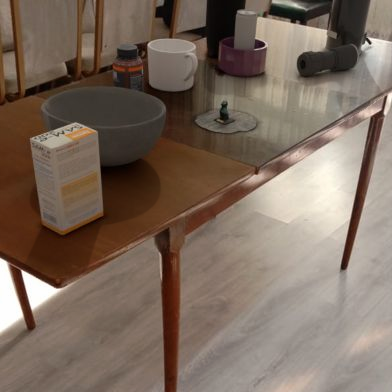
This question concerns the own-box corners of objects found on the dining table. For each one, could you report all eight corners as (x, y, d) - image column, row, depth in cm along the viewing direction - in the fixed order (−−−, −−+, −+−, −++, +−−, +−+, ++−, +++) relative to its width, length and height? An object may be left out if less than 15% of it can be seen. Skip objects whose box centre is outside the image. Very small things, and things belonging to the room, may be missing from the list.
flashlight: (307, 79, 146) (310, 55, 143) (293, 73, 150) (296, 48, 146) (356, 71, 153) (361, 47, 149) (341, 64, 156) (345, 41, 153)
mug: (138, 81, 140) (137, 43, 135) (174, 73, 146) (175, 36, 140) (176, 99, 133) (177, 59, 127) (213, 90, 138) (215, 51, 133)
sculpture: (190, 130, 121) (195, 90, 121) (198, 146, 130) (202, 108, 130) (252, 134, 119) (257, 92, 119) (255, 150, 128) (259, 111, 128)
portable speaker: (199, 51, 160) (203, -38, 147) (232, 49, 163) (239, -39, 150) (212, 61, 154) (217, -31, 141) (246, 58, 157) (254, -32, 144)
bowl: (178, 180, 104) (180, 120, 97) (54, 192, 99) (47, 129, 92) (150, 133, 118) (150, 78, 112) (40, 141, 113) (33, 84, 107)
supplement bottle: (148, 103, 130) (148, 45, 123) (134, 112, 126) (133, 52, 119) (123, 98, 132) (121, 40, 124) (109, 107, 128) (106, 47, 120)
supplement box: (83, 205, 96) (75, 120, 87) (104, 216, 94) (99, 130, 85) (40, 224, 91) (28, 136, 82) (61, 237, 89) (51, 147, 80)
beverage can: (254, 66, 150) (260, 10, 143) (249, 72, 147) (254, 15, 139) (235, 63, 152) (239, 8, 144) (229, 69, 148) (233, 12, 140)
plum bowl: (234, 60, 156) (236, 33, 152) (273, 69, 151) (276, 42, 147) (209, 70, 149) (210, 43, 145) (249, 81, 144) (252, 53, 140)
